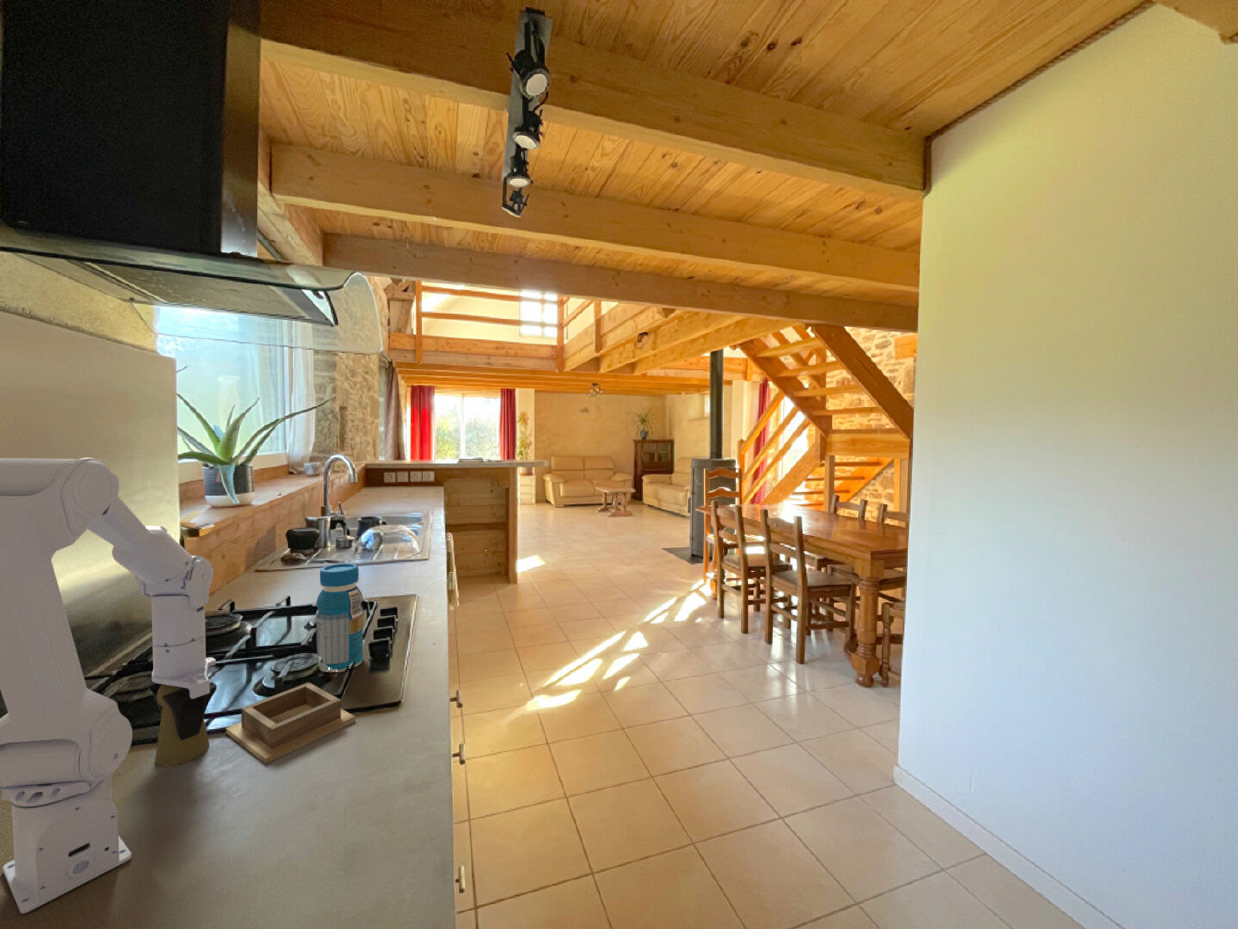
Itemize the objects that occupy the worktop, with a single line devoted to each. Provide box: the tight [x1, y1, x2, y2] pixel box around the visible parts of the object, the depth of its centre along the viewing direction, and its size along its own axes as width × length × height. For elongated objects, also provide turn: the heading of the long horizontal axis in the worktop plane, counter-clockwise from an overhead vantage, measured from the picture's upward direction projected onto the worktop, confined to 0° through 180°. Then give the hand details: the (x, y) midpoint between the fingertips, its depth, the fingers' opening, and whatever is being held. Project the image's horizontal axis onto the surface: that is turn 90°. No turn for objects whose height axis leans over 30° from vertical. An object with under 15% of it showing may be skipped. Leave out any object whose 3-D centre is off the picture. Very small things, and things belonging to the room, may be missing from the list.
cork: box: [154, 684, 210, 767], centre depth 74 cm, size 6×6×11 cm
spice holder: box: [225, 682, 356, 764], centre depth 81 cm, size 13×13×4 cm
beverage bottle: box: [315, 562, 365, 673], centre depth 102 cm, size 8×8×20 cm
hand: (182, 730), depth 74 cm, fingers closed on cork, 5 cm apart
